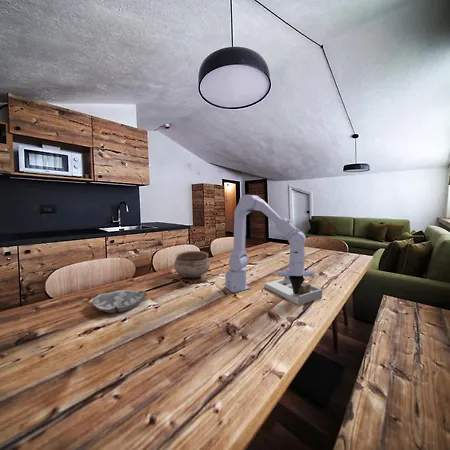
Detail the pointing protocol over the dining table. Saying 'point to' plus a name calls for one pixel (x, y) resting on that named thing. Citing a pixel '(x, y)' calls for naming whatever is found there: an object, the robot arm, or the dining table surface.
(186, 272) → the cooking pot
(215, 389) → the dining table surface
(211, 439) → the dining table surface
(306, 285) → the walnut block
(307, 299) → the board
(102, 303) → the brain slice
